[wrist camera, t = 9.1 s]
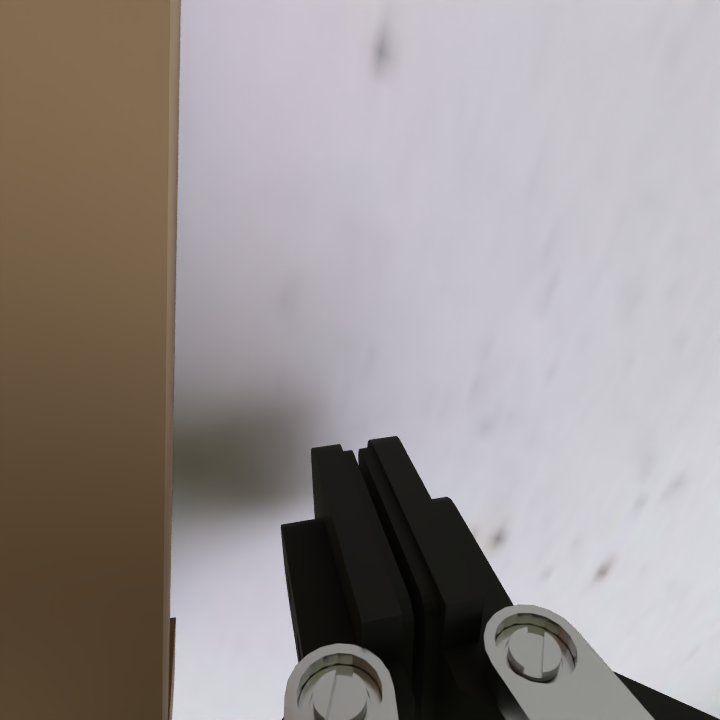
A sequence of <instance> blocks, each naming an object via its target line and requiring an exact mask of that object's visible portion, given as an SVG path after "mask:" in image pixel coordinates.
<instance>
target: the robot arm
mask: <svg viewBox="0 0 720 720" xmlns="http://www.w3.org/2000/svg"><path fill="white" fill-rule="evenodd" d="M358 460H359V466H358V463H357V461H356V458H355V456H354V453H353V451H352V450H349V451H343V450H342V447H341V445H340V444H337V445H330V446H323V447H316V448H312V449H311V462H312V479H313V496H314V513H315V519H312V520H306V521H300V522H294V523H288V524H283V525H281V535H282V546H283V556H284V566H285V574H286V582H287V590H288V597H289V604H290V611H291V617H292V624H293V630H294V637H295V643H296V650H297V656H298V664H297V665H296V666H295V668H294V670H293V672H292V674H291V675H290V677H289V679H288V682H287V687H286V692H285V699H284V717H283V719H282V720H720V719H718V718H716V717H713V716H711V715H709V714H707V713H704V712H702V711H700V710H698V709H696V708H693V707H691V706H689V705H687V704H685V703H682V702H680V701H678V700H676V699H673V698H671V697H669V696H667V695H665V694H662V693H660V692H658V691H656V690H654V689H651V688H649V687H647V686H645V685H642V684H640V683H638V682H636V681H634V680H631V679H629V678H627V677H625V676H623V675H620V674H618V673H616V672H614V671H612V670H611V669H610V668H609V667H608V665H607V664H606V663H605V662H604V661H603V660H602V658H601V657H600V656H599V655H598V654H597V653H596V652H595V650H594V649H593V648H592V647H591V646H590V645H589V643H588V642H587V641H586V640H585V639H584V638H583V637H582V635H581V634H580V633H579V632H578V631H577V630H576V629H575V628H574V627H573V626H572V625H571V624H570V623H569V622H568V621H566V620H565V619H564V618H563V617H561V616H559V615H557V614H556V613H554V612H552V611H550V610H548V609H544V608H541V607H538V606H535V605H520V604H519V605H513V603H512V602H511V600H510V598H509V597H508V595H507V593H506V592H505V590H504V588H503V586H502V585H501V583H500V581H499V580H498V578H497V576H496V574H495V573H494V571H493V569H492V568H491V566H490V564H489V562H488V561H487V559H486V557H485V556H484V554H483V552H482V550H481V549H480V547H479V545H478V544H477V542H476V540H475V538H474V537H473V535H472V533H471V532H470V530H469V528H468V526H467V525H466V523H465V521H464V520H463V518H462V516H461V514H460V513H459V511H458V509H457V508H456V506H455V504H454V503H453V502H452V500H451V499H450V498H448V497H443V498H437V499H431V497H430V495H429V493H428V492H427V490H426V488H425V486H424V484H423V482H422V480H421V478H420V477H419V475H418V473H417V471H416V469H415V467H414V465H413V464H412V462H411V460H410V458H409V456H408V454H407V452H406V450H405V449H404V447H403V445H402V443H401V441H400V439H399V438H398V437H397V436H393V437H386V438H379V439H372V440H369V441H368V446H367V448H362V449H359V454H358Z"/></svg>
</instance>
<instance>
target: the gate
mask: <svg viewBox="0 0 720 720" xmlns="http://www.w3.org/2000/svg"><path fill="white" fill-rule="evenodd" d="M180 15H181V0H0V720H172V708H173V691H174V671H175V628H176V618H170V578H171V522H172V466H173V409H174V353H175V297H176V240H177V184H178V128H179V71H180Z"/></svg>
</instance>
